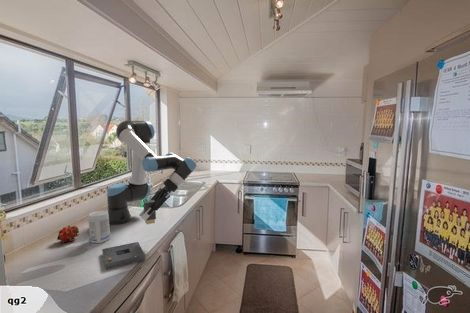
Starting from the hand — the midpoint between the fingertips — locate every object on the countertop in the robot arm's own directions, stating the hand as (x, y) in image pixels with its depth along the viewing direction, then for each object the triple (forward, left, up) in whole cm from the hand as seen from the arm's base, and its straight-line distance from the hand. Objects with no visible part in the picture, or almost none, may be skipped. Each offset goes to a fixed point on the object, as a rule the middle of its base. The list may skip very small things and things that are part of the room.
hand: (142, 217), depth 132 cm
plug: (+3, +2, -3) cm, 5 cm away
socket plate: (-5, -13, -14) cm, 20 cm away
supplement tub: (-25, +6, -14) cm, 29 cm away
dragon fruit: (-41, +5, -14) cm, 43 cm away
